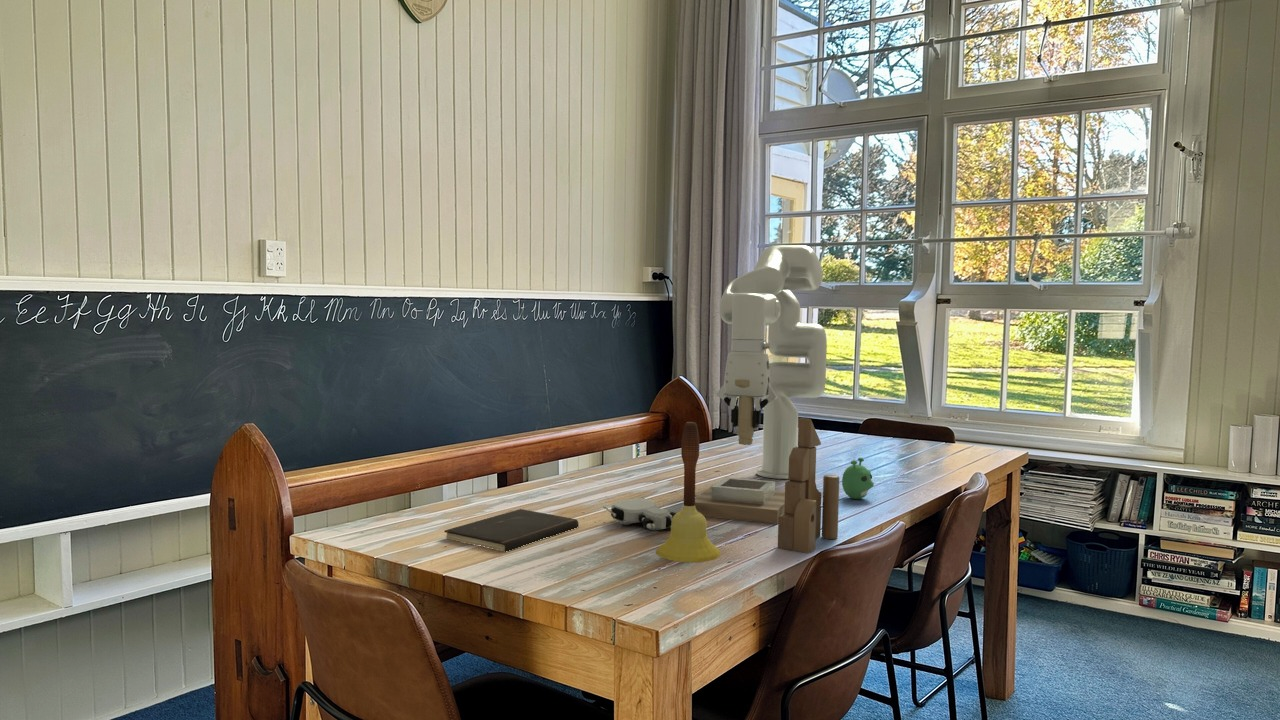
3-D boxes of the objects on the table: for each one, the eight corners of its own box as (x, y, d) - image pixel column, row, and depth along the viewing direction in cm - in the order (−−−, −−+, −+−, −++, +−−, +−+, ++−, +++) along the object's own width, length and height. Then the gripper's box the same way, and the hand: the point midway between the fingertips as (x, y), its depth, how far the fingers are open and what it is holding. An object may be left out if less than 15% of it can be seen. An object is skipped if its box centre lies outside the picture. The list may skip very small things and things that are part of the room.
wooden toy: (809, 554, 168) (812, 424, 167) (777, 548, 172) (780, 421, 171) (840, 537, 181) (843, 416, 179) (809, 532, 185) (813, 413, 183)
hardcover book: (444, 541, 175) (444, 530, 175) (520, 519, 194) (520, 508, 194) (505, 555, 166) (505, 543, 166) (578, 530, 186) (578, 519, 185)
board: (713, 497, 217) (713, 485, 217) (794, 504, 210) (795, 492, 210) (689, 514, 198) (689, 501, 198) (777, 523, 191) (777, 510, 191)
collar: (725, 489, 212) (725, 477, 211) (774, 494, 207) (775, 481, 207) (711, 499, 200) (711, 486, 200) (763, 504, 196) (763, 491, 196)
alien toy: (866, 503, 212) (867, 462, 212) (836, 499, 217) (837, 458, 216) (877, 498, 218) (879, 458, 217) (848, 494, 223) (849, 455, 222)
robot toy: (689, 531, 188) (640, 513, 198) (691, 511, 187) (642, 494, 198) (648, 541, 179) (599, 522, 190) (650, 520, 178) (601, 502, 189)
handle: (762, 444, 204) (764, 379, 203) (744, 446, 199) (745, 380, 199) (746, 441, 207) (748, 378, 206) (728, 444, 203) (729, 379, 202)
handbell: (730, 559, 164) (733, 426, 162) (667, 564, 160) (670, 427, 159) (707, 542, 176) (709, 417, 174) (647, 546, 172) (649, 418, 171)
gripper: (787, 347, 203) (785, 427, 204) (716, 345, 209) (715, 422, 210) (780, 349, 196) (778, 431, 197) (708, 346, 202) (706, 426, 203)
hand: (745, 425), depth 203 cm, fingers closed on handle, 4 cm apart
